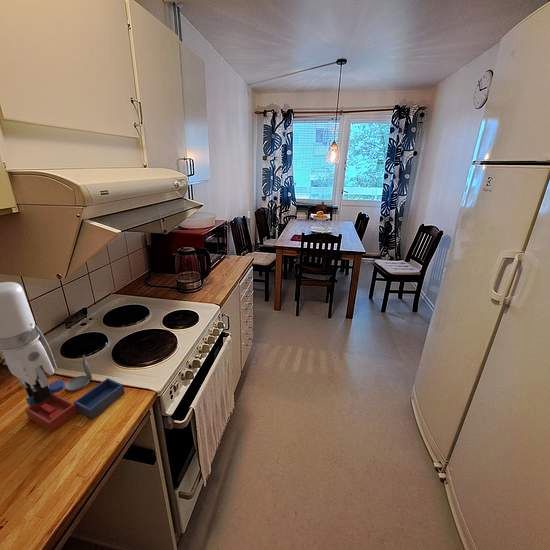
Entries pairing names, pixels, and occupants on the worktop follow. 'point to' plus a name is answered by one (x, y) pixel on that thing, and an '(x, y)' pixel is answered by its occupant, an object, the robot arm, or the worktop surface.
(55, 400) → the red bin
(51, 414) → the red spoon
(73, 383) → the grey ladle
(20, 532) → the worktop surface
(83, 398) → the blue bin
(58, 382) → the blue spoon
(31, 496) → the worktop surface
